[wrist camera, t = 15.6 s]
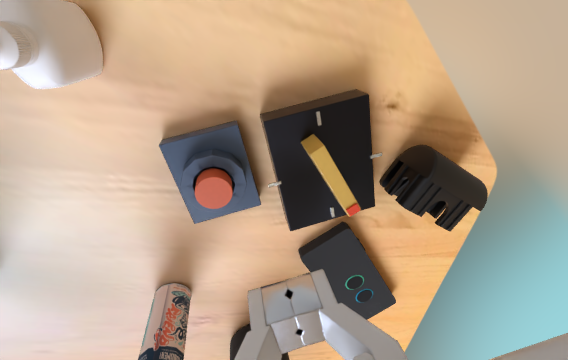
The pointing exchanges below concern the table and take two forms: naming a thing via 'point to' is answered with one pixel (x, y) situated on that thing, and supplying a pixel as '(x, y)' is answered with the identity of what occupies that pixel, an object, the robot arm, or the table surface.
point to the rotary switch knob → (331, 174)
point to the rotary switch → (339, 143)
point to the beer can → (167, 324)
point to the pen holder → (239, 339)
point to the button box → (211, 154)
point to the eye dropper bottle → (48, 42)
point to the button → (213, 188)
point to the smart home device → (348, 271)
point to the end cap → (433, 186)
